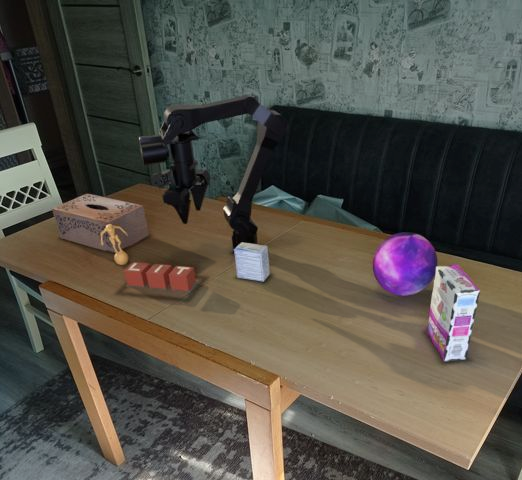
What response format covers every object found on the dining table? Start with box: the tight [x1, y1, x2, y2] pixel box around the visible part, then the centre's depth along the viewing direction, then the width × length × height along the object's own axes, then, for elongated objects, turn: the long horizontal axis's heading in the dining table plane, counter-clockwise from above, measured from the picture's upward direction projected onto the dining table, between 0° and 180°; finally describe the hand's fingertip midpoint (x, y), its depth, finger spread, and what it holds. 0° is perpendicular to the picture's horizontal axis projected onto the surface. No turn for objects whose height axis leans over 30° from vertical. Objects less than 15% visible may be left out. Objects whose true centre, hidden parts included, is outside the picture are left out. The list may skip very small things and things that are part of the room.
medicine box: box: [233, 242, 271, 283], centre depth 141 cm, size 8×4×9 cm, turn 65°
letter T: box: [169, 265, 197, 291], centre depth 140 cm, size 5×5×5 cm
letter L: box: [123, 261, 151, 287], centre depth 143 cm, size 5×5×5 cm
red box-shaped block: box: [146, 263, 173, 289], centre depth 141 cm, size 5×5×5 cm
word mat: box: [125, 280, 199, 294], centre depth 143 cm, size 20×12×1 cm, turn 73°
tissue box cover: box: [51, 193, 150, 254], centre depth 169 cm, size 26×14×10 cm, turn 56°
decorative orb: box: [372, 231, 439, 297], centre depth 128 cm, size 15×15×15 cm
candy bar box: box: [426, 264, 481, 362], centre depth 108 cm, size 11×5×16 cm, turn 5°
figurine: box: [101, 224, 130, 266], centre depth 152 cm, size 8×6×12 cm
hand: (191, 216), depth 146 cm, fingers open, 9 cm apart
